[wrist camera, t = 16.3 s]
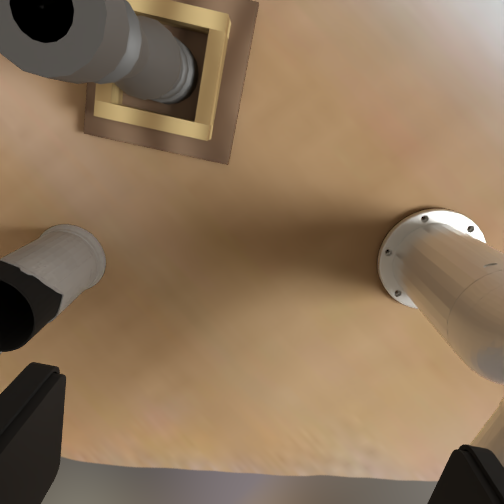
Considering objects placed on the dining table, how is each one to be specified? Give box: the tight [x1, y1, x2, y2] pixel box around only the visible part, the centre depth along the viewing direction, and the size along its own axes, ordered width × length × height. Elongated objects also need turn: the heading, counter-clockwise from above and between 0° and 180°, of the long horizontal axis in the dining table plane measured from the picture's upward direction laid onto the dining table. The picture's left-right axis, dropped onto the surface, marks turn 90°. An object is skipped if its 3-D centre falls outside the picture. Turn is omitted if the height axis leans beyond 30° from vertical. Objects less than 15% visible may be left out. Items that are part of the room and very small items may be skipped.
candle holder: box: [0, 0, 199, 104], centre depth 29 cm, size 6×6×25 cm
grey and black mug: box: [0, 224, 106, 354], centre depth 43 cm, size 9×14×15 cm, turn 146°
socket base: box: [84, 0, 259, 165], centre depth 40 cm, size 16×16×5 cm
